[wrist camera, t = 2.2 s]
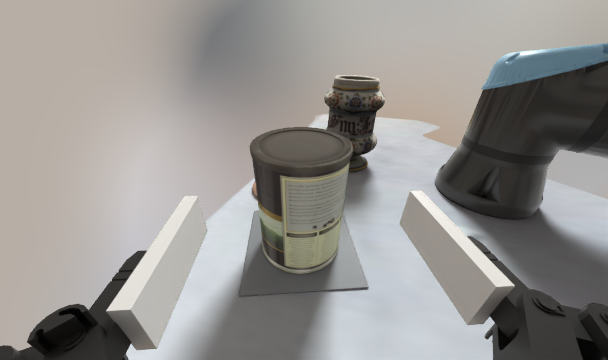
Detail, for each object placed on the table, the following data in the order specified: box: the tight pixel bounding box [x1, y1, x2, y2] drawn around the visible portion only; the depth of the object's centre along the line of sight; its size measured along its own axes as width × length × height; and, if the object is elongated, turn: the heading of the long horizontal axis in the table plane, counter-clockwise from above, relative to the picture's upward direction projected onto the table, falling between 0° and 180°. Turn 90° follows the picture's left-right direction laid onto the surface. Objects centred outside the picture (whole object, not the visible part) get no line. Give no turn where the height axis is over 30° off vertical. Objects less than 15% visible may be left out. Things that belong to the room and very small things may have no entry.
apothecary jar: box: [324, 75, 385, 172], centre depth 46 cm, size 12×12×18 cm
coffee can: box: [250, 127, 353, 274], centre depth 26 cm, size 10×10×14 cm
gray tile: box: [239, 211, 369, 296], centre depth 29 cm, size 14×14×1 cm
